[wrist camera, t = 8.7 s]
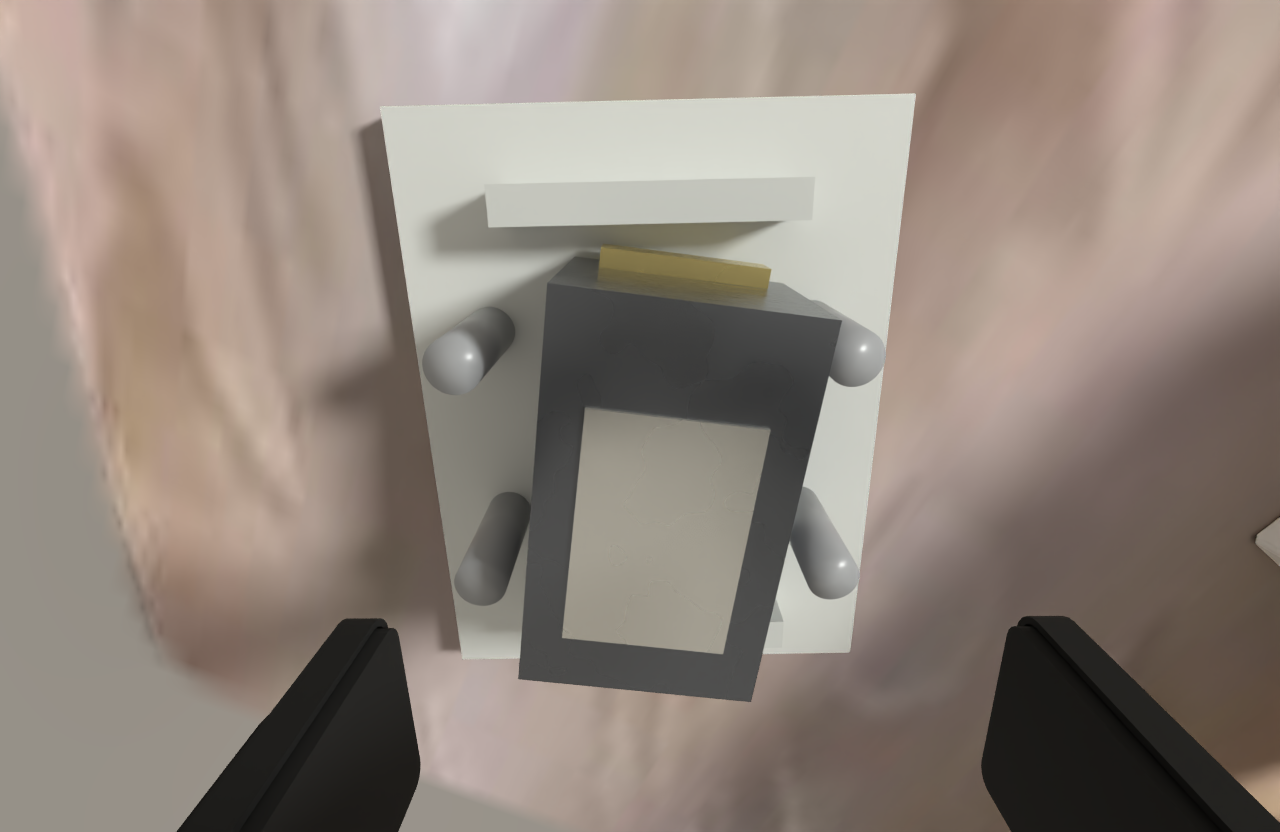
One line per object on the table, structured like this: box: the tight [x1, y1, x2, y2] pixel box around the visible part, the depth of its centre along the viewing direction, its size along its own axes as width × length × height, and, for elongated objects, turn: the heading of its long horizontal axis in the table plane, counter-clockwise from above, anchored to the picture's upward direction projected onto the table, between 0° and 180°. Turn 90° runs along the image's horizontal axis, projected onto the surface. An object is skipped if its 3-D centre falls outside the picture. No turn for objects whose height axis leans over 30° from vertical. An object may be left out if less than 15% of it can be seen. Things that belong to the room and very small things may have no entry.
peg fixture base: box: [380, 94, 916, 659], centre depth 18 cm, size 18×14×5 cm
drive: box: [518, 244, 842, 702], centre depth 16 cm, size 10×6×6 cm, turn 173°
